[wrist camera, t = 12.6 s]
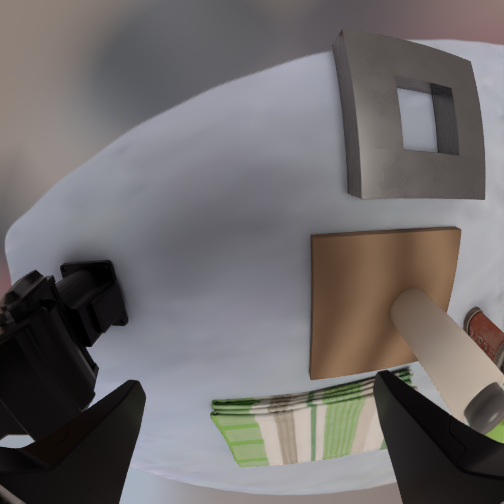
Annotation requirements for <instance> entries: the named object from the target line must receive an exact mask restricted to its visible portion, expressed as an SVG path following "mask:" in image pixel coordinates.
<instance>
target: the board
mask: <svg viewBox="0 0 504 504" xmlns="http://www.w3.org/2000/svg"><path fill="white" fill-rule="evenodd" d="M460 238H461V229H459V228H457V227H438V228H418V229H399V230H381V231H364V232H347V233H331V234H316V235H311V263H312V308H311V348H310V370H309V374H310V380H317V379H325V378H333V377H340V376H347V375H353V374H359V373H365V372H370V371H375V370H380V369H385V368H390V367H395V366H399V365H403V364H407V363H411V362H415V361H418V359H417V358H416V356H415V355H414V353H413V352H412V350H411V349H410V347H409V346H408V344H407V343H406V341H405V340H404V339H403V337H402V336H401V334H400V333H399V331H398V330H397V329H396V327H395V326H394V324H393V323H392V321H391V319H390V310H391V307H392V305H393V303H394V301H395V300H396V298H397V297H398V296H399V295H400V294H401V293H403V292H404V291H406V290H408V289H411V288H418V289H421V290H422V291H424V292H425V293H426V294H427V295H428V296H429V297H430V298H431V299H432V300H433V301H434V302H435V303H436V304H437V305H438V306H439V307H441V308H442V309H443V310H444V311H445V312H446V313H447V309H448V305H449V301H450V297H451V292H452V288H453V283H454V278H455V272H456V267H457V260H458V254H459V246H460Z"/></svg>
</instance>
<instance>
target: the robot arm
mask: <svg viewBox="0 0 504 504" xmlns="http://www.w3.org/2000/svg"><path fill="white" fill-rule="evenodd" d="M106 265H107V266H108V268H107V267H106ZM64 268H65V269H64ZM60 270H61V273H62V277H63V279H62V280H61V281H59V282H58V283H56V284H55V282H56V281H55V279H54V276H53V275H51V276H47V277H46V276H45V277H43V275H41V274H40V273H39V272H38V271H37V270H34V271H31V272H30V273H28V274H27V275H25V276H23V277H22V278H20V279H19V280H18V281H17V282H16V283H15V284H14V285H13V286H12V287H11V288H10V289H9V290H8V291H7V293H5V295H4V296H3V298H2V300H1V301H0V440H1V439H3V438H4V437H6V436H7V435H29V436H30V437H31V438H33V440H34V441H35V442H33V443H31V444H29V445H27V446H25V447H22V448H7V447H0V504H119V501H120V497H121V494H122V490H123V486H124V483H125V479H126V475H127V472H128V468H129V465H130V461H131V458H132V455H133V451H134V448H135V445H136V441H137V438H138V435H139V431H140V427H141V422H142V417H143V412H144V407H145V402H146V395H145V392H144V390H143V388H142V386H141V384H140V382H139V381H137V380H128V381H126V382H125V383H123V384H122V385H121V386H119V387H118V388H117V389H115V390H114V391H112V392H111V393H110V394H108V395H107V396H105V397H104V398H102V399H101V400H100V401H98V402H97V403H95V404H94V405H92V406H91V407H90V408H88V406H89V405H90V403H91V402H92V400H93V399H94V397H95V392H94V388H95V384H96V378H97V374H98V370H99V368H98V366H97V364H96V363H94V361H93V359H92V358H91V356H90V354H89V353H88V351H87V349H86V347H92V345H93V344H94V343H95V342H96V340H97V339H98V338H99V337H100V336H101V334H102V333H105V332H106V331H107V330H108V329H109V327H110V326H111V325H114V326H125V325H126V324H127V323H128V318H127V315H126V312H125V307H124V304H123V301H122V297H121V294H120V290H119V287H118V284H117V281H116V278H115V274H114V270H113V266H112V263H111V262H110V261H108V260H102V261H89V262H76V263H64V264H62V265H61V266H60ZM122 320H124V321H122ZM373 394H374V399H375V403H376V408H377V413H378V418H379V423H380V427H381V430H382V433H383V436H384V439H385V442H386V446H387V449H388V452H389V455H390V459H391V462H392V465H393V469H394V472H395V476H396V480H397V483H398V487H399V491H400V494H401V498H402V502H403V504H504V443H501V442H498V441H496V440H494V439H492V438H490V437H488V436H486V435H484V434H482V433H480V432H478V431H476V430H474V429H472V428H471V427H469V426H467V425H465V424H464V423H462V422H461V421H459V420H458V419H456V418H455V417H453V416H452V415H450V414H449V413H447V412H446V411H445V410H443V409H442V408H440V407H439V406H438V405H436V404H435V403H433V402H432V401H430V400H429V399H428V398H426V397H425V396H423V395H422V394H421V393H419V392H418V391H416V390H415V389H414V388H412V387H411V386H409V385H408V384H407V383H405V382H404V381H402V380H401V379H400V378H398V377H397V376H395V375H394V374H393V373H391V372H390V371H388V370H384V371H379V372H377V374H376V378H375V381H374V385H373ZM87 408H88V409H87ZM86 409H87V410H86Z"/></svg>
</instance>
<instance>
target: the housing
mask: <svg viewBox="0 0 504 504" xmlns="http://www.w3.org/2000/svg"><path fill="white" fill-rule="evenodd" d="M332 47H333V52H334V58H335V63H336V69H337V75H338V82H339V89H340V96H341V104H342V113H343V122H344V132H345V144H346V158H347V176H348V194H351V195H353V196H356V197H358V198H361V199H380V198H444V199H477V200H485V148H484V135H483V125H482V117H481V110H480V103H479V97H478V92H477V87H476V82H475V77H474V73H473V69H472V65H471V61H468V60H466V59H463V58H461V57H458V56H455V55H453V54H450V53H447V52H444V51H441V50H438V49H435V48H432V47H429V46H425V45H422V44H418V43H414V42H411V41H407V40H402V39H398V38H393V37H389V36H384V35H378V34H372V33H366V32H359V31H351V30H341V32H340V34H339V35H338V37H337V38H336V40H335V41H334V43H333V45H332ZM396 87H397V88H403V89H409V90H414V91H420V92H424V93H429V94H432V98H433V104H434V112H435V120H436V129H437V141H438V153H433V152H423V151H412V150H403V136H402V125H401V116H400V108H399V101H398V94H397V88H396Z"/></svg>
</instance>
